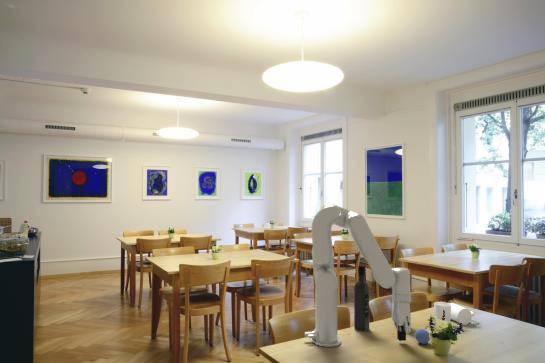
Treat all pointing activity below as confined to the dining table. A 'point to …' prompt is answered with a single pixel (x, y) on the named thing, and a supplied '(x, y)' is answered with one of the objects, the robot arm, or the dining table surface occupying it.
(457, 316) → the mug
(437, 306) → the white cup
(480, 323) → the dining table surface
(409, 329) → the pin
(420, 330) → the ball
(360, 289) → the wine bottle
